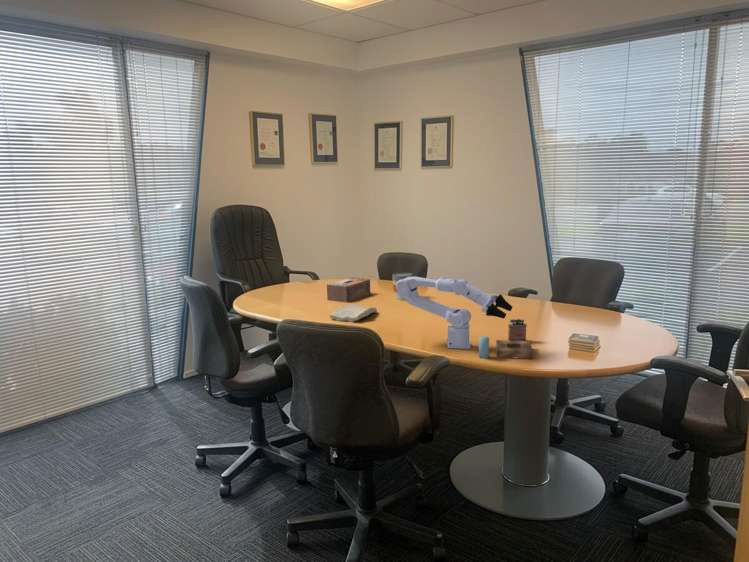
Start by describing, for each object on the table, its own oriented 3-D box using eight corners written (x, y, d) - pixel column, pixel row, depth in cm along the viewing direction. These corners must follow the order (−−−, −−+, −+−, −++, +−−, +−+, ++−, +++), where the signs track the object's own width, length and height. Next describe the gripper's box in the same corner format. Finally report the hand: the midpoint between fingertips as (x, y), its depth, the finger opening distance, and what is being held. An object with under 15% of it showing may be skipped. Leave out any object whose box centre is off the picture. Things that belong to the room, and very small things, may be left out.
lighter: (524, 339, 241) (525, 317, 239) (527, 341, 238) (527, 319, 236) (506, 340, 241) (507, 318, 239) (509, 342, 237) (509, 320, 236)
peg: (478, 358, 218) (478, 339, 216) (479, 355, 221) (479, 336, 220) (488, 358, 217) (489, 339, 215) (489, 355, 221) (489, 336, 219)
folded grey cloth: (382, 314, 295) (351, 308, 305) (383, 301, 293) (352, 295, 303) (360, 327, 275) (327, 319, 284) (360, 313, 273) (327, 306, 282)
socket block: (496, 357, 218) (496, 350, 218) (496, 346, 232) (496, 340, 231) (532, 358, 215) (532, 351, 215) (530, 348, 229) (530, 341, 228)
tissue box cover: (352, 292, 351) (351, 277, 349) (370, 294, 343) (369, 279, 342) (327, 300, 330) (326, 284, 328) (346, 303, 322) (345, 286, 320)
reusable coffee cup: (388, 299, 327) (388, 275, 324) (399, 295, 337) (399, 271, 334) (406, 301, 320) (405, 276, 317) (417, 297, 330) (416, 273, 327)
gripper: (475, 295, 218) (505, 312, 213) (488, 283, 229) (517, 298, 224) (469, 309, 222) (499, 325, 217) (483, 296, 233) (511, 311, 228)
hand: (508, 312), depth 221 cm, fingers open, 7 cm apart
